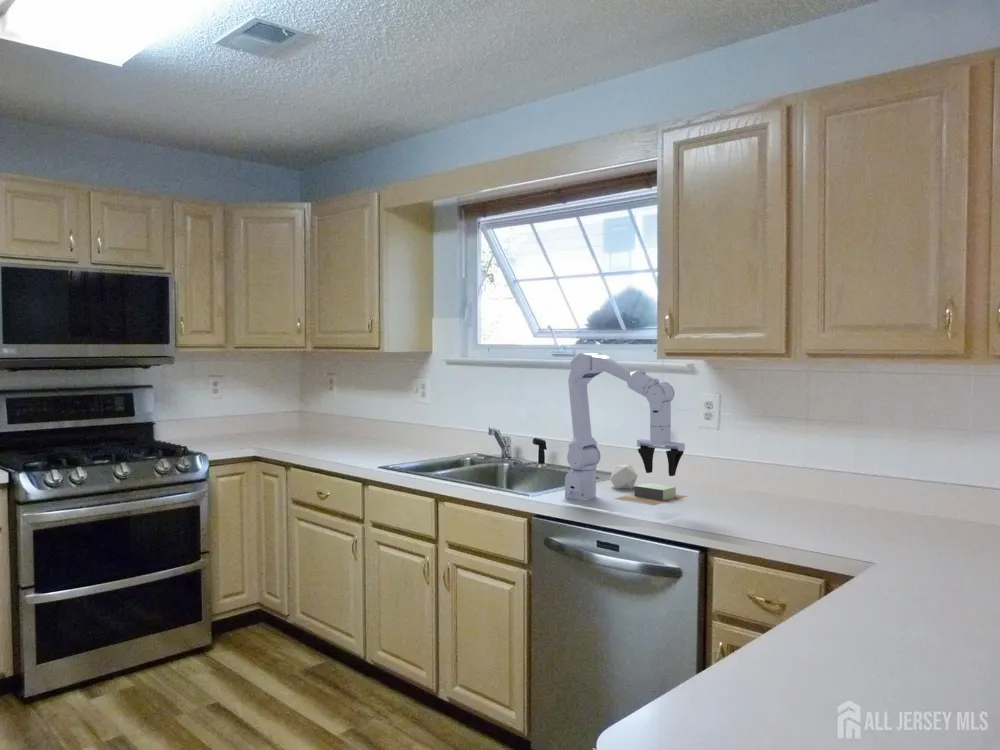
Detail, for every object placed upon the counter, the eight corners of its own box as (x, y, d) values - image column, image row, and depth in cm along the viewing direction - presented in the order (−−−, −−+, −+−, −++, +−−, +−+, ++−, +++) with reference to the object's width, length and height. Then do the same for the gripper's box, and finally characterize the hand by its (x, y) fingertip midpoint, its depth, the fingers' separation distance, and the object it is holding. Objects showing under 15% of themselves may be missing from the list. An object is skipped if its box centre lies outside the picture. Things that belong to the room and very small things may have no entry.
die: (630, 494, 242) (644, 468, 244) (606, 480, 243) (620, 455, 246) (626, 499, 249) (640, 474, 252) (603, 485, 251) (616, 460, 254)
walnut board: (653, 507, 219) (653, 505, 219) (614, 500, 229) (613, 498, 229) (687, 498, 232) (687, 496, 232) (648, 492, 242) (648, 490, 242)
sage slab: (662, 490, 226) (675, 487, 231) (634, 486, 233) (647, 483, 238) (662, 500, 226) (675, 496, 231) (634, 495, 233) (647, 492, 238)
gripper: (690, 426, 213) (690, 475, 214) (647, 423, 224) (647, 469, 224) (676, 428, 209) (676, 478, 209) (632, 425, 219) (632, 472, 219)
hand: (660, 474), depth 216 cm, fingers open, 7 cm apart
